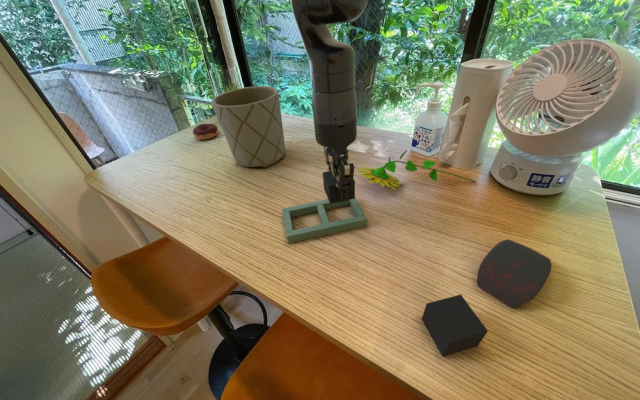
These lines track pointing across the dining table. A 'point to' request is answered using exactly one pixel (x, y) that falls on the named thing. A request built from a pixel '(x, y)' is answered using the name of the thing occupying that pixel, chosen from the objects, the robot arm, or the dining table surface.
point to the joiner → (322, 219)
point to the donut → (205, 131)
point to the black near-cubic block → (334, 187)
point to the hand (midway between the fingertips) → (338, 192)
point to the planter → (252, 124)
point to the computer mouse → (513, 273)
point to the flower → (387, 179)
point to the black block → (453, 325)
